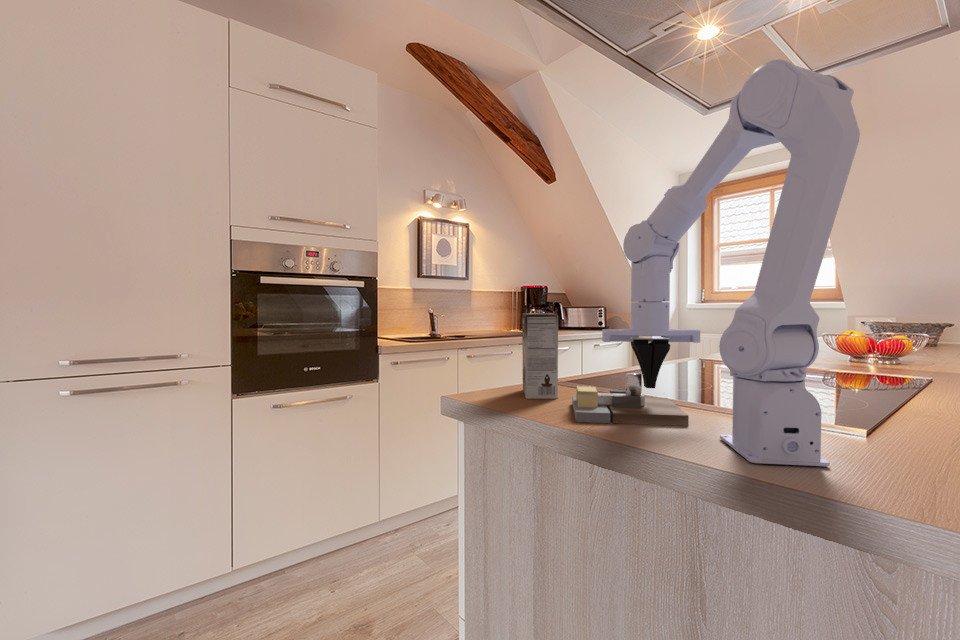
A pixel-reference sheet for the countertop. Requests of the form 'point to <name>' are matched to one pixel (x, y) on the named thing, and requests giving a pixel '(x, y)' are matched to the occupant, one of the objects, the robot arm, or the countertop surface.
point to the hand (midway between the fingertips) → (649, 387)
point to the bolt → (631, 390)
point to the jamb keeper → (589, 406)
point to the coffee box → (540, 355)
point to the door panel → (645, 411)
